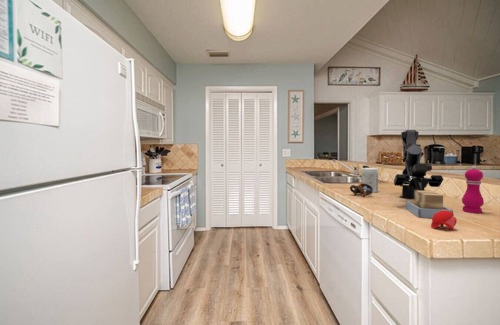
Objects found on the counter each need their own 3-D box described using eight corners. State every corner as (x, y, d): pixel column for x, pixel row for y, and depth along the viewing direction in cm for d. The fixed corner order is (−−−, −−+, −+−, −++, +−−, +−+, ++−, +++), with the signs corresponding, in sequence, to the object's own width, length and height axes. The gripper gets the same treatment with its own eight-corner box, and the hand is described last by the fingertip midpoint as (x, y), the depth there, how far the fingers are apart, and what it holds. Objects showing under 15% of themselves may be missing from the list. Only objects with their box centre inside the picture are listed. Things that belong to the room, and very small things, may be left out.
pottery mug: (367, 195, 154) (372, 184, 150) (369, 204, 146) (375, 193, 142) (346, 189, 156) (352, 178, 151) (348, 198, 148) (353, 187, 143)
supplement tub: (369, 189, 170) (370, 167, 169) (381, 192, 161) (382, 168, 160) (357, 190, 167) (358, 168, 166) (369, 193, 158) (369, 169, 157)
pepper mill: (474, 209, 115) (476, 165, 114) (487, 213, 108) (490, 166, 107) (457, 209, 116) (459, 165, 114) (469, 213, 108) (471, 166, 107)
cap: (446, 215, 92) (431, 206, 93) (461, 214, 87) (445, 204, 87) (439, 235, 90) (424, 226, 90) (454, 235, 84) (438, 225, 85)
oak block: (414, 210, 115) (414, 190, 114) (429, 211, 113) (430, 190, 113) (424, 217, 103) (425, 194, 102) (442, 218, 101) (443, 195, 101)
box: (405, 208, 117) (405, 200, 117) (434, 210, 114) (435, 202, 114) (418, 217, 102) (419, 208, 102) (452, 219, 99) (453, 210, 99)
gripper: (396, 157, 120) (403, 183, 110) (442, 157, 116) (453, 185, 106) (391, 172, 128) (397, 198, 118) (434, 173, 124) (444, 200, 114)
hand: (422, 195), depth 114 cm, fingers closed
